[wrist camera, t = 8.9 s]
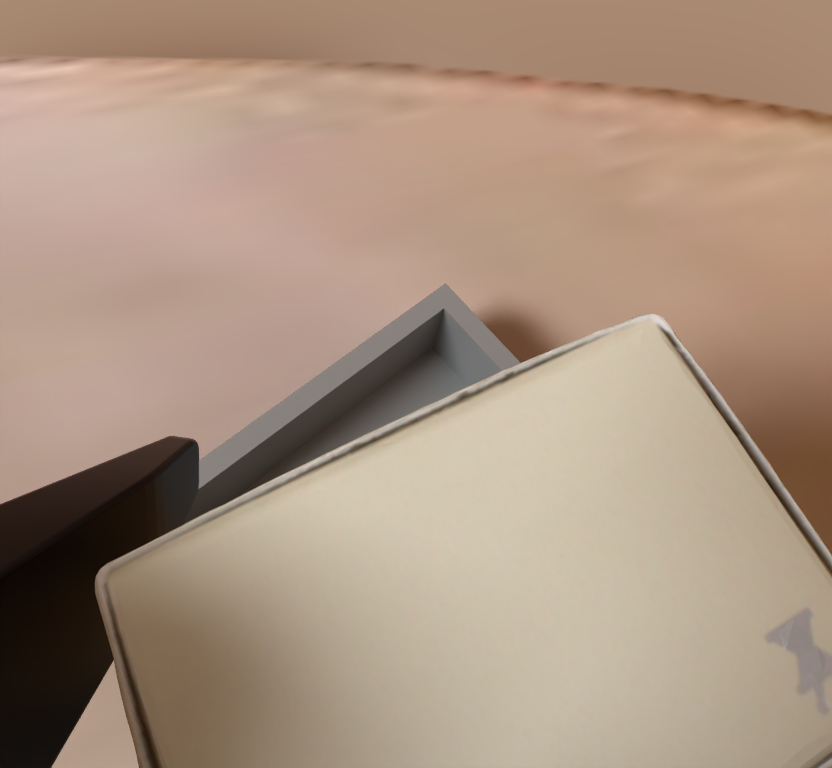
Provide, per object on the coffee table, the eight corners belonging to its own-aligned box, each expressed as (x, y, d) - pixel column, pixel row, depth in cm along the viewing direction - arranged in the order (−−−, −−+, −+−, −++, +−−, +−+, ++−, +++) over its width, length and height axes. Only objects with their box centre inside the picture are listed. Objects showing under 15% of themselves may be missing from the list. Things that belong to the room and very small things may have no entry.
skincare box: (470, 479, 17) (683, 281, 6) (538, 611, 16) (976, 690, 5) (279, 574, 16) (55, 559, 4) (339, 727, 15) (254, 1267, 3)
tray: (682, 607, 17) (758, 614, 14) (385, 951, 14) (393, 1069, 10) (431, 332, 20) (445, 283, 16) (124, 562, 16) (64, 558, 13)
